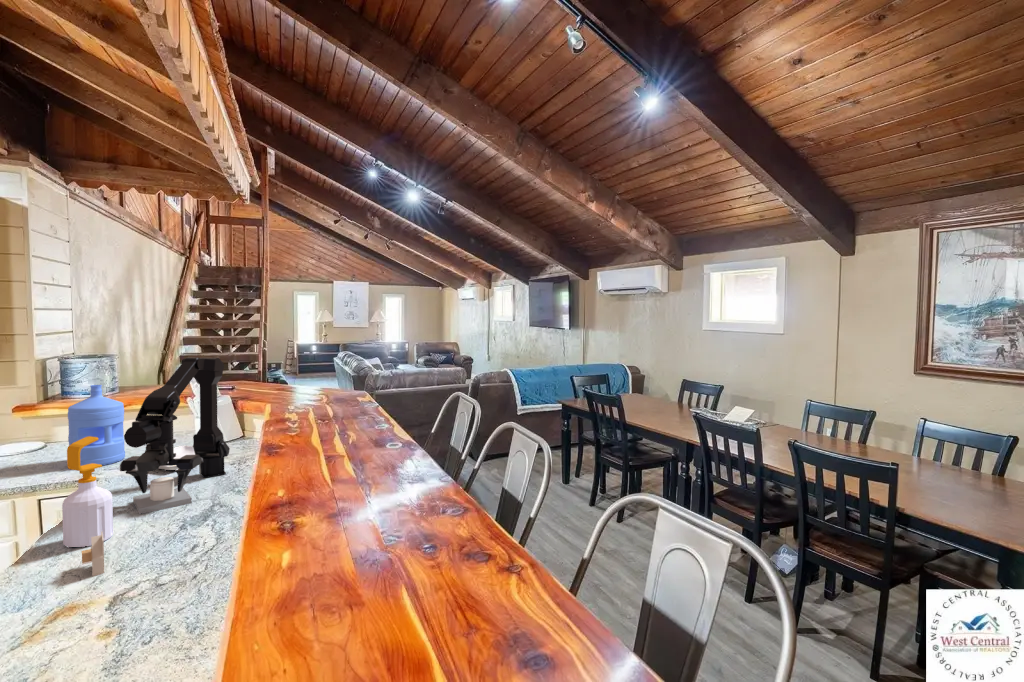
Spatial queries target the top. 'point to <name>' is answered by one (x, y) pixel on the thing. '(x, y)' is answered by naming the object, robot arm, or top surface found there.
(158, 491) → the cap
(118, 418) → the water jug
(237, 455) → the top surface
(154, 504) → the post base
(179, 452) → the salad plate
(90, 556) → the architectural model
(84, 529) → the soap bottle
